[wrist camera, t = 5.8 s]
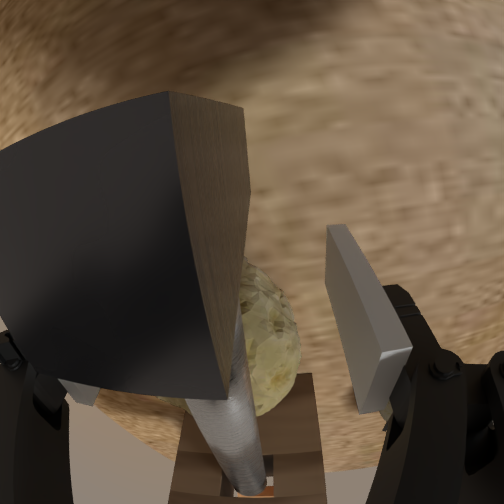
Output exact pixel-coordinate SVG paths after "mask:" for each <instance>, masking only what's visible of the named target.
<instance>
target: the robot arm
mask: <svg viewBox="0 0 504 504" xmlns="http://www.w3.org/2000/svg"><path fill="white" fill-rule="evenodd" d="M325 285H326V288H327V292H328V295H329V298H330V302H331V305H332V309H333V312H334V316H335V319H336V323H337V327H338V330H339V334H340V338H341V341H342V345H343V349H344V353H345V357H346V361H347V365H348V369H349V373H350V377H351V381H352V385H353V389H354V394H355V398H356V402H357V407H358V411H359V415H360V414H365V413H371V412H376V411H381V410H384V409H385V407H386V405H387V403H388V401H389V400H390V403H391V406H392V410H393V412H392V414H391V416H390V418H389V419H388V421H387V423H386V424H385V426H384V428H383V430H382V431H385V432H386V430H387V432H386V437H385V441H384V445H383V449H382V453H381V456H380V460H379V464H378V467H377V471H376V474H375V477H374V480H373V483H372V487H371V489H370V492H369V495H368V498H367V501H366V504H504V351H500V352H497V353H495V354H494V356H493V357H492V358H491V360H490V361H489V363H488V364H465V363H463V362H462V360H461V359H460V358H459V356H457V355H456V354H454V353H453V352H451V351H449V350H445V349H441V347H440V346H439V344H438V342H437V340H436V338H435V336H434V335H433V333H432V331H431V329H430V328H429V326H428V324H427V322H426V321H425V319H424V317H423V316H422V315H421V312H420V310H419V309H418V307H417V306H415V302H414V301H413V299H412V297H411V296H410V294H409V293H408V292H407V291H406V290H404V289H403V288H402V287H400V286H399V285H398V284H395V285H386V286H382V285H381V284H380V282H379V280H378V278H377V276H376V275H375V273H374V271H373V269H372V268H371V266H370V264H369V262H368V261H367V259H366V257H365V256H364V254H363V252H362V251H361V249H360V247H359V246H358V244H357V242H356V241H355V239H354V237H353V236H352V234H351V233H350V231H349V229H348V228H347V226H346V225H345V224H338V225H327V239H326V268H325ZM0 363H1V364H0V504H74V503H73V495H72V487H71V475H70V459H69V404H68V403H67V401H66V400H65V399H64V398H65V396H66V394H67V392H68V393H69V394H70V396H71V397H72V398H73V399H74V400H75V401H76V402H78V403H82V404H85V405H89V406H93V404H94V402H95V400H96V397H97V395H98V393H99V390H100V388H98V387H93V386H88V385H84V384H79V383H74V382H70V381H66V380H62V379H58V378H54V377H50V376H47V375H43V374H40V373H37V372H36V371H35V369H34V368H33V367H32V365H31V364H30V362H29V361H28V359H27V358H26V357H25V355H24V354H23V352H22V351H21V349H20V348H19V346H18V345H17V343H16V341H15V340H14V338H13V337H12V335H11V333H10V332H9V330H6V331H3V332H1V333H0ZM493 423H494V424H493Z"/></svg>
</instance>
